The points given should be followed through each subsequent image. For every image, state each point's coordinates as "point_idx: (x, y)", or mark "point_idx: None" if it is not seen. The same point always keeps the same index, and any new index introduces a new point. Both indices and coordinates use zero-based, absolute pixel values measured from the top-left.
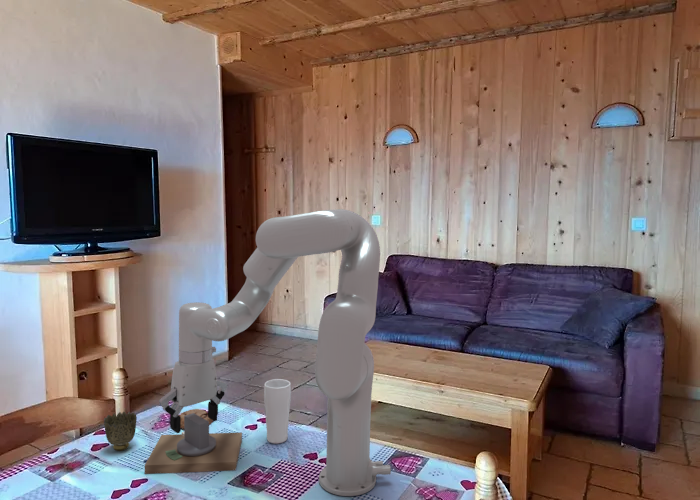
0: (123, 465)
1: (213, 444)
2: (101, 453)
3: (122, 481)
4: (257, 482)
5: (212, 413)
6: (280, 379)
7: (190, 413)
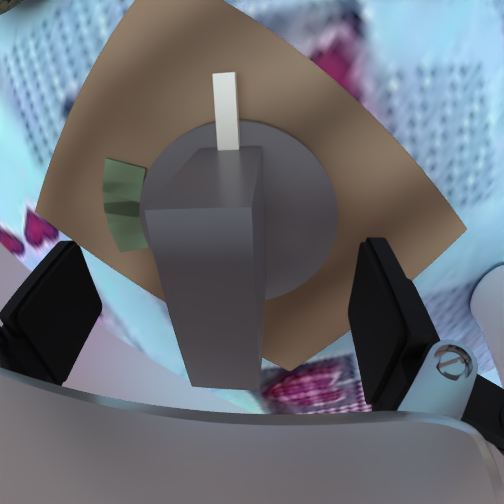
0: (14, 102)
1: (290, 287)
2: None
3: (8, 198)
4: (291, 399)
5: (361, 329)
6: None
7: None
